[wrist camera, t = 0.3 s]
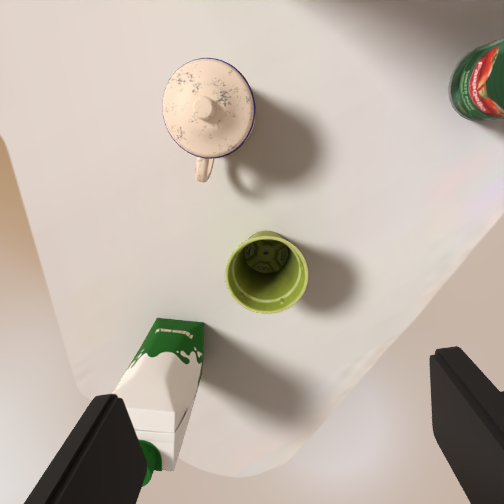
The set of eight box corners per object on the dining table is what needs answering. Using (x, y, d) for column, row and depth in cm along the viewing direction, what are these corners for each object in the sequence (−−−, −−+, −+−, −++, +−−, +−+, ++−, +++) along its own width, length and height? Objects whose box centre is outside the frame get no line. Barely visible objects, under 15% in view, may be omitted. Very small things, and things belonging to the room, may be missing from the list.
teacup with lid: (188, 65, 40) (158, 38, 29) (265, 83, 41) (264, 63, 30) (174, 168, 44) (143, 179, 33) (244, 184, 44) (236, 200, 33)
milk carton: (151, 362, 54) (87, 486, 35) (150, 310, 51) (81, 414, 32) (207, 368, 54) (174, 495, 35) (210, 316, 51) (176, 424, 32)
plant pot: (307, 223, 46) (315, 242, 37) (295, 288, 49) (300, 319, 40) (236, 213, 46) (229, 230, 37) (228, 279, 49) (220, 308, 40)
